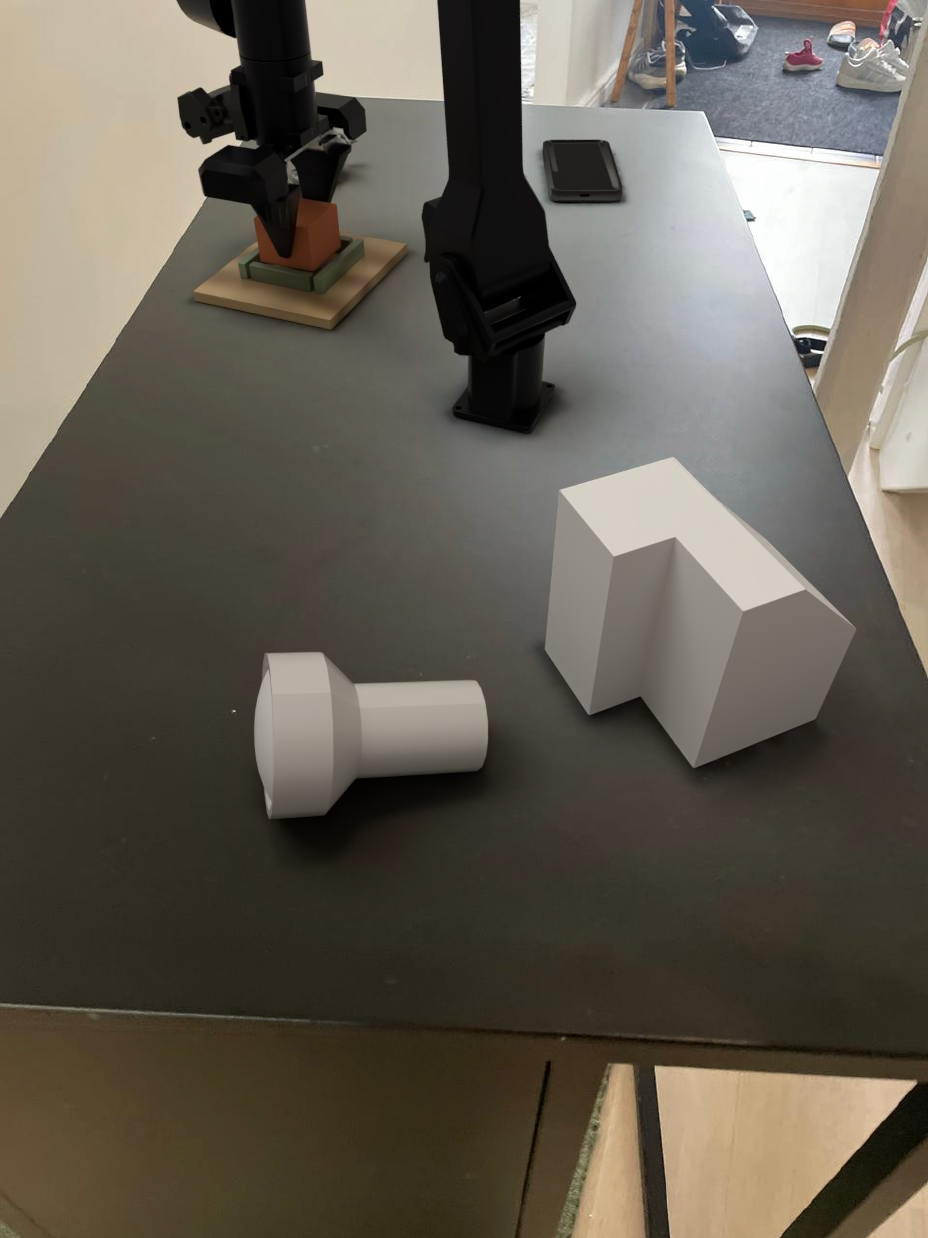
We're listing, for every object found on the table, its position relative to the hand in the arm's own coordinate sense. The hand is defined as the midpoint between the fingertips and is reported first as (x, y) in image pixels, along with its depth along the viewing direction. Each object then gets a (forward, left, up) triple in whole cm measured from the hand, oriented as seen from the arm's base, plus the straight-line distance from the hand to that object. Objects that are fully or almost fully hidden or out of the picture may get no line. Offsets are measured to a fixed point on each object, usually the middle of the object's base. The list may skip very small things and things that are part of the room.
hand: (301, 243), depth 84 cm
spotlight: (-48, -30, -3) cm, 57 cm away
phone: (+33, -17, -3) cm, 37 cm away
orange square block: (0, 0, -1) cm, 1 cm away
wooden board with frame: (0, 0, -3) cm, 3 cm away
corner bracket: (-36, -44, -3) cm, 57 cm away
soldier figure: (+20, +9, -3) cm, 22 cm away
